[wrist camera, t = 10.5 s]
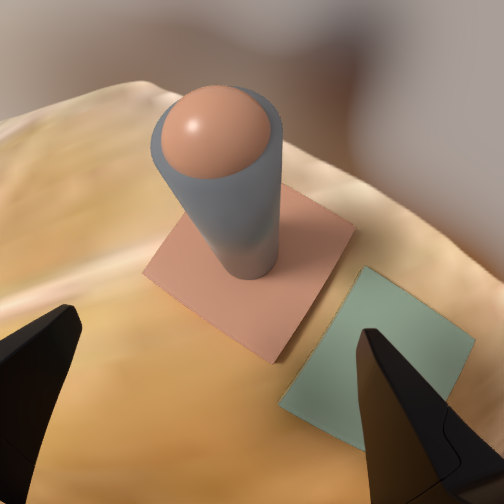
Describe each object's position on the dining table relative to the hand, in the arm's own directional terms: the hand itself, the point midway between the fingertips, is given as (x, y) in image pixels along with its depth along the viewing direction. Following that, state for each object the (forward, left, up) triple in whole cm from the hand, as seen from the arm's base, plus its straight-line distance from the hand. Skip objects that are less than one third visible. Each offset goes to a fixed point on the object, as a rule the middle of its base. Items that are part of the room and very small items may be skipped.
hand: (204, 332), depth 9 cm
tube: (+5, -3, -11) cm, 13 cm away
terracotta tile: (+5, -3, -12) cm, 14 cm away
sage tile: (-7, -8, -12) cm, 16 cm away
